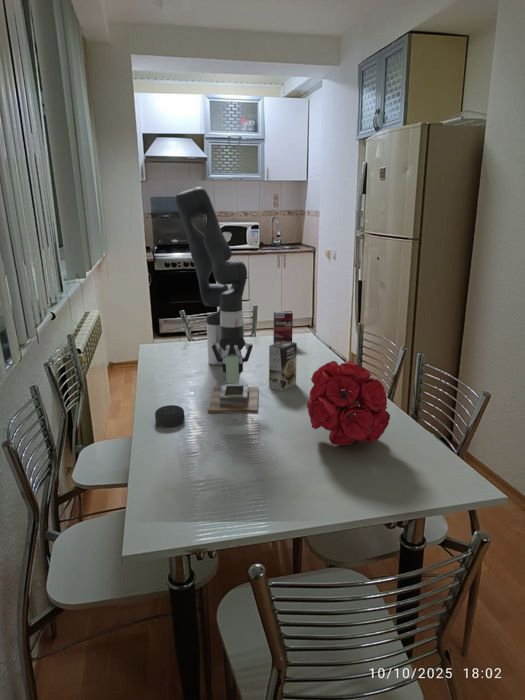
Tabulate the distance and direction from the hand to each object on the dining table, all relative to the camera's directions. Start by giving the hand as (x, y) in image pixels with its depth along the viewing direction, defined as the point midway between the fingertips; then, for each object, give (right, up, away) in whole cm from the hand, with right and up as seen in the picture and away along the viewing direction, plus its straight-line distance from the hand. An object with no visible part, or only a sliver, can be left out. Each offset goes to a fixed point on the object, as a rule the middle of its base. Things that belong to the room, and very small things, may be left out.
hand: (233, 372), depth 159 cm
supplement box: (+20, +10, +66) cm, 70 cm away
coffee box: (+17, -6, +15) cm, 24 cm away
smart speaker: (-19, -15, -12) cm, 27 cm away
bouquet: (+33, -17, -23) cm, 44 cm away
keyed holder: (0, -10, +3) cm, 10 cm away
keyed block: (0, -2, +1) cm, 2 cm away
